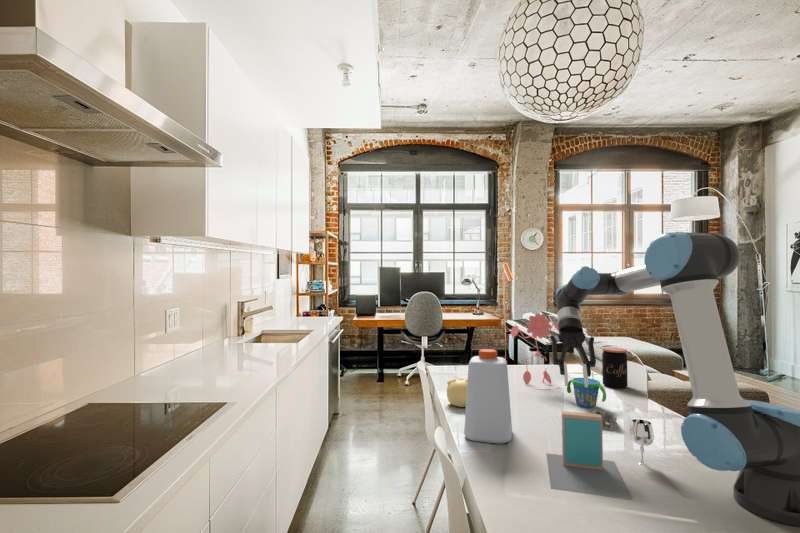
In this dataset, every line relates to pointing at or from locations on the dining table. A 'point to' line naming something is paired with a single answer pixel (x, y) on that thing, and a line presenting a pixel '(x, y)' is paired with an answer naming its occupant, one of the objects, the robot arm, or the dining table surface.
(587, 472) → the mat
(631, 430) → the wineglass
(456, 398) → the sculpture
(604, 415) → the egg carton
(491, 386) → the plastic bottle
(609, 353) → the coffee jar
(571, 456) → the peach rectangular block
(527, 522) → the dining table surface
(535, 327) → the pink flower
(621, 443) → the dining table surface
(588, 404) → the snack cup
